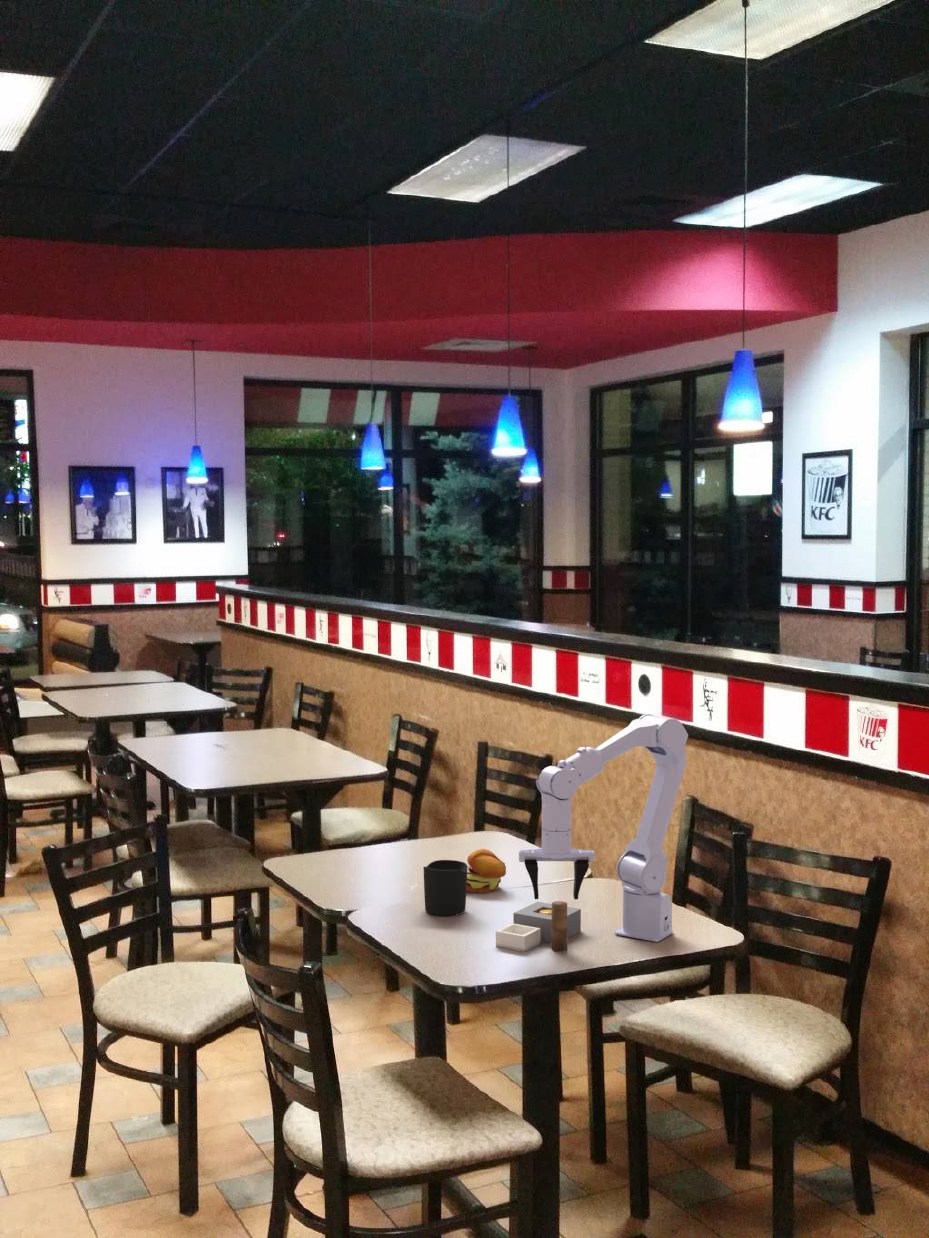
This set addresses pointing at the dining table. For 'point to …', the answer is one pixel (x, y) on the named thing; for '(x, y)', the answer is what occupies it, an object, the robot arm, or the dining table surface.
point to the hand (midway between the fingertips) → (556, 897)
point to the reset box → (547, 919)
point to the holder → (518, 937)
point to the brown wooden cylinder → (559, 926)
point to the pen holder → (445, 887)
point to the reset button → (546, 912)
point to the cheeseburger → (484, 871)
